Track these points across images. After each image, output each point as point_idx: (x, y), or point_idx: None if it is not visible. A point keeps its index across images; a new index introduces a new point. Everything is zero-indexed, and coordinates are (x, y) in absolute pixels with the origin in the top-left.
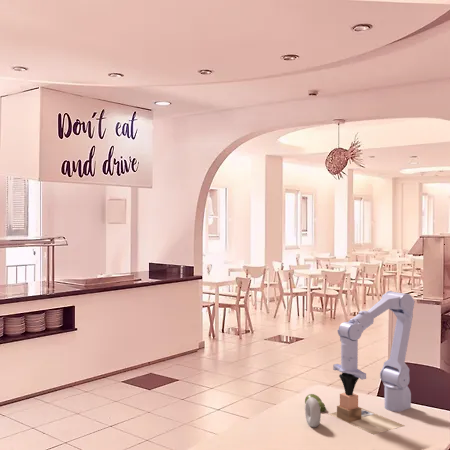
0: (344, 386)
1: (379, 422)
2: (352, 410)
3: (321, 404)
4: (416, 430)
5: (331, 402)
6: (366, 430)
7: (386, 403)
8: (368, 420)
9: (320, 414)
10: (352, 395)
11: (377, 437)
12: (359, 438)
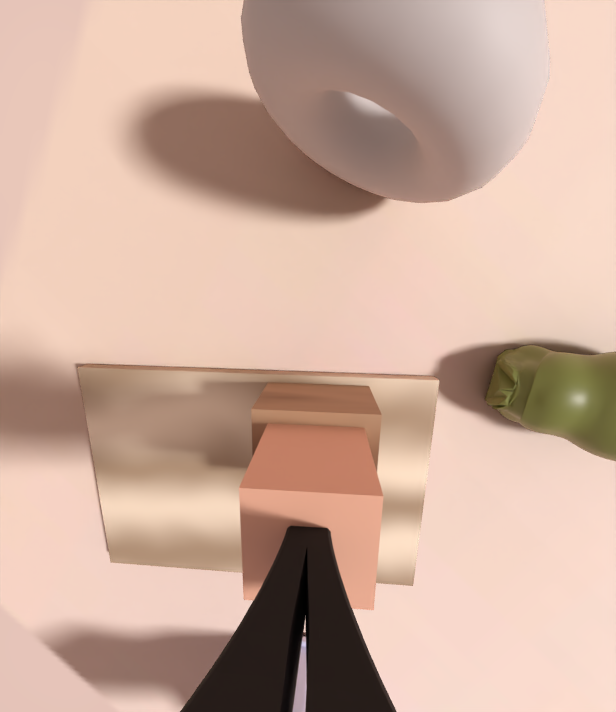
0: (333, 615)
1: (190, 506)
2: (252, 441)
3: (534, 395)
4: (78, 565)
5: (577, 541)
6: (134, 376)
7: (303, 687)
8: (237, 485)
9: (260, 88)
10: (263, 554)
11: (75, 374)
12: (98, 287)
